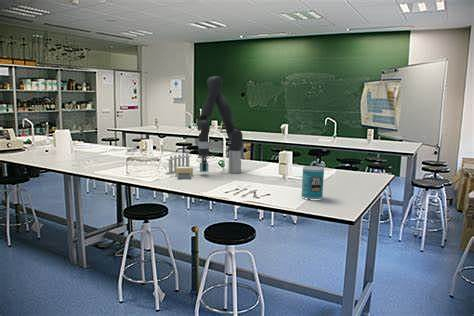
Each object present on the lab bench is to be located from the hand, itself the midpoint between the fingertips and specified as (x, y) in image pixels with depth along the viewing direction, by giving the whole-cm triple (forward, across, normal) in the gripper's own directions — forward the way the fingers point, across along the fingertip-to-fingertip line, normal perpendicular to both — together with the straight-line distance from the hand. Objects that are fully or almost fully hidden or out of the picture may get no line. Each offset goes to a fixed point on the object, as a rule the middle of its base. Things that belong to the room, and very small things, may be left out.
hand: (204, 170), depth 272 cm
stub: (+1, 0, 0) cm, 1 cm away
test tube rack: (+4, +15, +18) cm, 24 cm away
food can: (+5, -66, -58) cm, 88 cm away
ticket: (+3, 0, +15) cm, 15 cm away
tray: (+3, -7, +15) cm, 17 cm away
